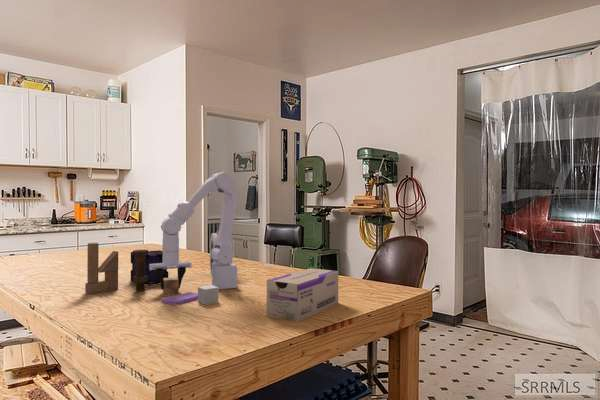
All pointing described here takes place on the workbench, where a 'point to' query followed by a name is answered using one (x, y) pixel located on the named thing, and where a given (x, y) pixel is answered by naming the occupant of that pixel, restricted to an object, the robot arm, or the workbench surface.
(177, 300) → the sponges
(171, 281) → the brown boxy piece
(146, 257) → the energy cube
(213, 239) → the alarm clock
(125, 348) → the workbench surface
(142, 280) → the bolt
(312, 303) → the surgical sutures box
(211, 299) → the grey block
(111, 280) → the wooden block
